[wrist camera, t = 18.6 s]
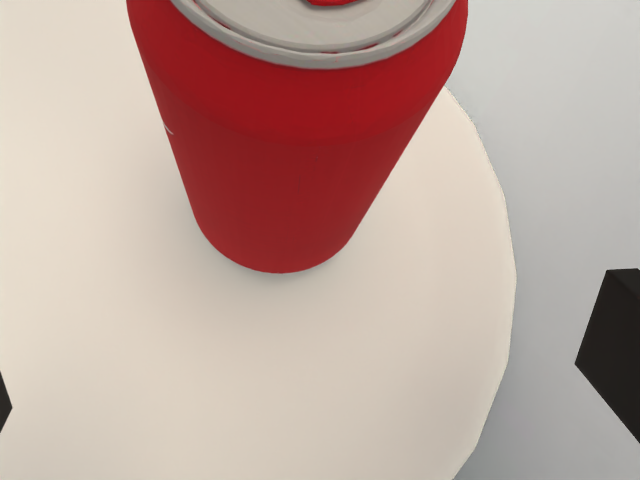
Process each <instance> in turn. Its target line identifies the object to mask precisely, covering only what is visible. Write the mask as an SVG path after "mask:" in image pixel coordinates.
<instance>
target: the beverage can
mask: <svg viewBox="0 0 640 480" xmlns="http://www.w3.org/2000/svg"><path fill="white" fill-rule="evenodd" d="M126 5H127V12H128V17H129V21H130V26H131V29H132V32H133V35H134V38H135V41H136V44H137V47H138V50H139V53H140V56H141V59H142V62H143V65H144V68H145V71H146V74H147V77H148V80H149V83H150V86H151V89H152V92H153V95H154V98H155V101H156V104H157V107H158V110H159V113H160V116H161V119H162V122H163V125H164V128H165V131H166V134H167V137H168V140H169V143H170V146H171V149H172V151H173V154H174V157H175V160H176V163H177V166H178V169H179V172H180V175H181V178H182V181H183V184H184V187H185V190H186V193H187V196H188V199H189V202H190V205H191V208H192V211H193V214H194V217H195V219H196V222H197V224H198V226H199V228H200V230H201V231H202V233H203V234H204V236H205V237H206V238H207V240H208V241H209V242H210V243H211V244H212V245H213V246H214V247H215V248H216V249H217V250H218V251H219V252H220V253H221V254H223V255H224V256H225V257H227V258H228V259H230V260H232V261H233V262H235V263H237V264H239V265H241V266H244V267H246V268H249V269H252V270H256V271H260V272H266V273H278V274H283V273H293V272H299V271H303V270H307V269H310V268H312V267H315V266H317V265H319V264H321V263H323V262H325V261H327V260H328V259H330V258H331V257H333V256H334V255H335V254H336V253H338V252H339V251H340V250H341V249H342V248H343V247H344V246H345V245H346V244H347V242H348V241H349V240H350V238H351V237H352V236H353V234H354V232H355V231H356V229H357V228H358V226H359V224H360V223H361V221H362V219H363V218H364V216H365V214H366V213H367V211H368V209H369V208H370V206H371V205H372V203H373V201H374V200H375V198H376V196H377V195H378V193H379V191H380V190H381V188H382V186H383V185H384V183H385V181H386V180H387V178H388V177H389V175H390V173H391V172H392V170H393V168H394V167H395V165H396V163H397V162H398V160H399V158H400V157H401V155H402V153H403V152H404V150H405V149H406V147H407V145H408V144H409V142H410V140H411V139H412V137H413V135H414V134H415V132H416V130H417V129H418V127H419V126H420V124H421V122H422V121H423V119H424V117H425V116H426V114H427V112H428V111H429V109H430V107H431V106H432V104H433V102H434V101H435V99H436V98H437V96H438V94H439V93H440V91H441V89H442V88H443V86H444V84H445V83H446V81H447V79H448V78H449V76H450V74H451V72H452V70H453V68H454V66H455V64H456V62H457V59H458V57H459V54H460V51H461V47H462V43H463V39H464V36H465V31H466V23H467V16H468V0H126Z"/></svg>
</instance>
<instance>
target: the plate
mask: <svg viewBox="0 0 640 480" xmlns="http://www.w3.org/2000/svg"><path fill="white" fill-rule="evenodd" d="M516 281H517V273H516V266H515V260H514V253H513V247H512V241H511V234H510V228H509V221H508V215H507V208H506V202H505V196H504V193H503V191H502V189H501V186H500V184H499V182H498V179H497V177H496V175H495V172H494V170H493V168H492V165H491V163H490V160H489V158H488V156H487V153H486V151H485V149H484V146H483V144H482V142H481V139H480V137H479V135H478V132H477V130H476V128H475V125H474V124H473V122H472V121H471V120H470V118H469V117H468V116H467V114H466V113H465V112H464V110H463V109H462V107H461V106H460V105H459V103H458V102H457V101H456V99H455V98H454V97H453V95H452V94H451V93H450V91H449V90H448V89H447V87H446V86H445V85H444V86H443V88H442V89H441V91H440V93H439V94H438V96H437V98H436V99H435V101H434V102H433V104H432V106H431V107H430V109H429V111H428V112H427V114H426V116H425V117H424V119H423V121H422V122H421V124H420V126H419V127H418V129H417V130H416V132H415V134H414V135H413V137H412V139H411V140H410V142H409V144H408V145H407V147H406V149H405V150H404V152H403V153H402V155H401V157H400V158H399V160H398V162H397V163H396V165H395V167H394V168H393V170H392V172H391V173H390V175H389V177H388V178H387V180H386V181H385V183H384V185H383V186H382V188H381V190H380V191H379V193H378V195H377V196H376V198H375V200H374V201H373V203H372V205H371V206H370V208H369V209H368V211H367V213H366V214H365V216H364V218H363V219H362V221H361V223H360V224H359V226H358V228H357V229H356V231H355V232H354V234H353V236H352V237H351V238H350V240H349V241H348V242H347V244H346V245H345V246H344V247H343V248H342V249H341V250H340V251H339V252H338V253H336V254H335V255H334V256H333V257H331V258H330V259H328V260H327V261H325V262H323V263H321V264H319V265H317V266H315V267H312V268H310V269H307V270H303V271H299V272H293V273H283V274H278V273H266V272H260V271H256V270H252V269H249V268H246V267H244V266H241V265H239V264H237V263H235V262H233V261H232V260H230V259H228V258H227V257H225V256H224V255H223V254H221V253H220V252H219V251H218V250H217V249H216V248H215V247H214V246H213V245H212V244H211V243H210V242H209V241H208V240H207V238H206V237H205V236H204V234H203V233H202V231H201V230H200V228H199V226H198V224H197V222H196V219H195V217H194V214H193V211H192V208H191V205H190V202H189V199H188V196H187V193H186V190H185V187H184V184H183V181H182V178H181V175H180V172H179V169H178V166H177V163H176V160H175V157H174V154H173V151H172V149H171V146H170V143H169V140H168V137H167V134H166V131H165V128H164V125H163V122H162V119H161V116H160V113H159V110H158V107H157V104H156V101H155V98H154V95H153V92H152V89H151V86H150V83H149V80H148V77H147V74H146V71H145V68H144V65H143V62H142V59H141V56H140V53H139V50H138V47H137V44H136V41H135V38H134V35H133V32H132V29H131V26H130V21H129V17H128V12H127V5H126V0H0V372H1V375H2V378H3V380H4V383H5V386H6V389H7V392H8V395H9V398H10V401H11V404H12V407H13V408H12V410H11V412H10V414H9V416H8V418H7V420H6V422H5V425H4V427H3V429H2V431H1V433H0V480H453V478H454V477H455V475H456V474H457V473H458V471H459V470H460V469H461V467H462V466H463V464H464V463H465V462H466V460H467V459H468V458H469V456H470V455H471V453H472V452H473V451H474V449H475V448H476V445H477V443H478V440H479V437H480V435H481V432H482V429H483V427H484V424H485V422H486V419H487V416H488V414H489V411H490V408H491V406H492V403H493V400H494V398H495V395H496V393H497V390H498V387H499V385H500V382H501V379H502V377H503V374H504V372H505V369H506V366H507V364H508V359H509V349H510V340H511V330H512V320H513V310H514V301H515V291H516Z"/></svg>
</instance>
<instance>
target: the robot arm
mask: <svg viewBox="0 0 640 480" xmlns="http://www.w3.org/2000/svg"><path fill="white" fill-rule="evenodd" d="M575 365H576V366H577V367H578V369H579V370H580V371H581V372H582V373H583V375H584V376H585V377H586V378H587V380H588V381H589V382H590V383H591V384H592V386H593V387H594V388H595V389H596V391H597V392H598V393H599V394H600V395H601V397H602V398H603V399H604V400H605V402H606V403H607V404H608V405H609V406H610V408H611V409H612V410H613V411H614V413H615V414H616V415H617V416H618V417H619V419H620V420H621V421H622V422H623V423H624V425H625V426H626V427H627V428H628V430H629V431H630V432H631V433H632V434H633V436H634V437H635V438H636V439H637V441H638V442H639V443H640V270H639V269H638V268H635V269H615V270H607V271H606V273H605V276H604V279H603V282H602V285H601V288H600V291H599V294H598V297H597V300H596V303H595V305H594V308H593V311H592V314H591V317H590V320H589V323H588V326H587V329H586V332H585V335H584V337H583V340H582V343H581V346H580V349H579V352H578V355H577V358H576V361H575ZM12 408H13V407H12V404H11V401H10V398H9V395H8V392H7V389H6V386H5V383H4V380H3V378H2V375H1V372H0V433H1V431H2V429H3V427H4V425H5V422H6V420H7V418H8V416H9V414H10V412H11V410H12Z"/></svg>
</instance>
